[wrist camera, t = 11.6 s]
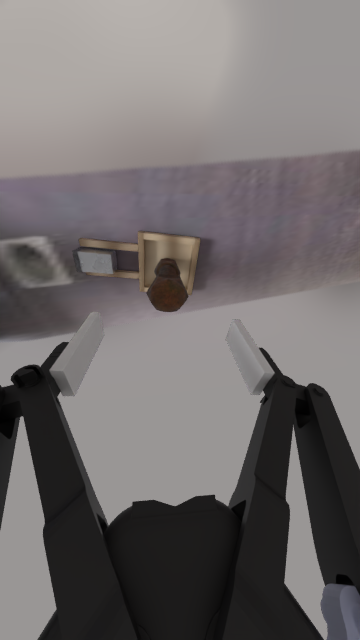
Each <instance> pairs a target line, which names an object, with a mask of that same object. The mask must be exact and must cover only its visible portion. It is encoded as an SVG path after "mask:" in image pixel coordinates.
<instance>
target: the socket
mask: <svg viewBox="0 0 360 640" xmlns="http://www.w3.org/2000/svg"><path fill="white" fill-rule="evenodd" d="M79 243H80V246H86V247H96V248H106V249H116V250H126V251H136V252H139V272H138V271H126V270H116V271H115V272H114V274H106V273H93V272H86V275H96V276H109V277H121V278H134V279H139V283H140V292H147V290H148V289H149V287H150V286H151V284H152V283H153V281H154V280H155V278H156V275H155V272H154V270H155V268H156V266H157V264H158V263H159V261H160V260H161V259H164V258H170V259H173V260H175V261H176V263H177V266H178V268H179V270H180V273H181V274H180V277H181V280H182V282H183V284H184V286H185V289H186V291H187V293H188V295H191V294H192V288H193V282H194V276H195V270H196V264H197V257H198V251H199V245H200V239H199V238H198V237H189V236H180V235H172V234H163V233H154V232H145V231H139V232H138V244H134V243H124V242H115V241H105V240H96V239H86V238H80V239H79Z"/></svg>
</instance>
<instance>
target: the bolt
mask: <svg viewBox="0 0 360 640" xmlns="http://www.w3.org/2000/svg"><path fill="white" fill-rule="evenodd" d="M154 272H155V275H156V278H155V280H154V281H153V283H152V284H151V286H150V287H149V289H148V290H147V295H148V297H149V299H150V301H151V303H152V304H153V306H154V307H155V308H156V310H159V311H163V312H174V311H177V310H178V309H180V308H181V306H182V305H183V304H184V303H185V301H186V300H187V298H188V293H187V291H186V289H185V286H184V284H183V282H182V280H181V277H180V274H181V273H180V270H179V268H178V266H177V263H176V261H175V260H173V259H170V258H164V259H161V260H160V261H159V263H158V264H157V266H156V268H155V270H154Z"/></svg>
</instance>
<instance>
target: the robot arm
mask: <svg viewBox="0 0 360 640" xmlns="http://www.w3.org/2000/svg"><path fill="white" fill-rule="evenodd" d="M103 336H104V331H103V326H102V321H101V316H100V312H91V313H90V314H89V316H88V317H87V318H86V320H85V321H84V323H83V324H82V325H81V327H80V328H79V330H78V331H77V332H76V334H75V335H74V337H73V338H72V339H71V341H70V342H62V343H61V344H60V345H58V346H57V347H56V348H55V349H54V350H53V352H52V353H51V354H50V355H49V357H48V358H47V359H46V361H45V362H44V363H43V364H42V365H41V367H39V366H38V365H28V366H24V367H22V368H20V369H18V370H17V371H16V372H15V373H14V374H13V375H12V376H11V381H12V382H13V383H14V385H10V386H7V387H1V385H0V528H1V522H2V517H3V511H4V505H5V500H6V494H7V488H8V483H9V477H10V472H11V466H12V460H13V454H14V449H15V443H16V437H17V431H18V426H19V420H20V417H21V416H23V417H24V422H25V427H26V431H27V436H28V441H29V446H30V451H31V456H32V460H33V465H34V470H35V475H36V479H37V484H38V488H39V493H40V499H41V503H42V508H43V513H44V518H45V525H44V528H43V538H44V546H45V550H46V556H47V561H48V566H49V571H50V576H51V582H52V587H53V592H54V597H55V603H56V607H57V610H56V611H55V612H54V614H53V616H52V618H51V619H50V620H49V622H48V624H47V625H46V627H45V629H44V630H43V632H42V633H41V635H40V637H39V638H38V640H324V639H323V638H322V637H321V635H320V633H319V632H318V630H317V629H316V628H315V626H314V625H313V623H312V622H311V620H310V619H309V618H308V616H307V615H306V613H305V612H304V611H303V609H302V608H301V606H300V605H299V603H298V602H297V601H296V599H295V598H294V596H293V595H292V594H291V592H290V591H289V589H288V588H287V586H286V585H285V584H284V578H285V566H286V555H287V543H288V532H289V520H290V509H289V505H288V503H287V502H286V486H287V477H288V467H289V458H290V449H291V440H292V431H293V425H294V431H295V437H296V443H297V448H298V454H299V460H300V465H301V471H302V477H303V483H304V488H305V494H306V500H307V505H308V510H309V517H310V523H311V528H312V534H313V540H314V544H315V549H316V553H317V559H318V562H319V566H320V570H321V573H322V577H323V580H324V583H325V587H324V590H323V599H322V600H321V610H322V614H323V617H324V619H325V621H326V623H327V628H328V636H327V640H360V469H359V467H358V464H357V462H356V460H355V457H354V455H353V452H352V450H351V447H350V445H349V442H348V440H347V438H346V435H345V433H344V430H343V428H342V425H341V423H340V420H339V418H338V416H337V413H336V411H335V408H334V406H333V403H332V401H331V398H330V396H329V394H328V393H327V392H326V391H325V389H324V388H322V387H321V386H318V385H317V384H313V383H311V384H309V385H308V386H307V387H305V386H302V385H298V384H296V383H295V382H294V381H293V380H292V379H290V378H289V377H287V376H284V375H283V374H282V373H281V371H280V370H279V368H278V367H277V366H276V364H275V363H274V362H273V360H272V358H270V355H269V354H268V353H267V352H266V351H265V350H264V349H263V348H258V347H257V345H256V344H255V342H254V341H253V339H252V338H251V336H250V335H249V333H248V332H247V330H246V329H245V327H244V326H243V324H242V323H241V321H240V320H236V319H233V320H232V323H231V325H230V328H229V331H228V334H227V337H226V341H227V344H228V346H229V348H230V350H231V352H232V354H233V357H234V359H235V361H236V363H237V365H238V368H239V370H240V372H241V374H242V376H243V379H244V381H245V383H246V385H247V387H248V390H249V392H250V394H251V395H260V394H261V392H262V391H264V393H265V396H264V397H263V398H262V400H261V401H260V403H262V404H261V407H260V411H259V414H258V417H257V420H256V424H255V427H254V430H253V434H252V437H251V440H250V444H249V447H248V451H247V454H246V457H245V460H244V464H243V467H242V470H241V474H240V477H239V480H238V484H237V487H236V489H235V491H234V493H233V495H232V498H231V500H230V503H229V506H226V505H225V504H224V503H222V502H220V501H218V500H216V499H215V495H207V496H196V497H193V498H191V499H189V500H188V501H185V502H184V503H182V504H180V505H178V506H172V505H168V504H165V503H162V502H158V501H156V500H148V501H136V502H133V505H132V506H131V507H129V508H127V509H126V510H124V511H123V512H122V513H120V514H119V515H118V516H117V517H116V518H115V519H114V521H112V522H111V524H110V525H108V523H107V520H106V518H105V515H104V513H103V511H102V508H101V506H100V504H99V502H98V500H97V497H96V495H95V492H94V490H93V487H92V485H91V482H90V479H89V477H88V474H87V472H86V469H85V467H84V464H83V461H82V459H81V456H80V454H79V451H78V449H77V446H76V443H75V441H74V438H73V436H72V433H71V431H70V428H69V425H68V423H67V420H66V418H65V415H64V412H63V410H62V408H61V405H60V402H59V400H58V398H57V396H58V395H59V393H60V392H61V393H62V395H63V396H75V394H76V392H77V390H78V388H79V386H80V384H81V382H82V380H83V378H84V376H85V374H86V372H87V370H88V368H89V366H90V363H91V361H92V359H93V357H94V355H95V353H96V351H97V349H98V347H99V345H100V343H101V341H102V339H103Z"/></svg>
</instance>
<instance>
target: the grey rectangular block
mask: <svg viewBox="0 0 360 640" xmlns="http://www.w3.org/2000/svg"><path fill="white" fill-rule="evenodd" d="M72 252H73V256H74V260H75V264H76V268H77V272H93V273H106V274H114V272H115V271H116V270H117V269H118V267H117V258H116V250H105V249H95V248H86V247H80V248H78V249H75V250H73V251H72Z"/></svg>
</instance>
